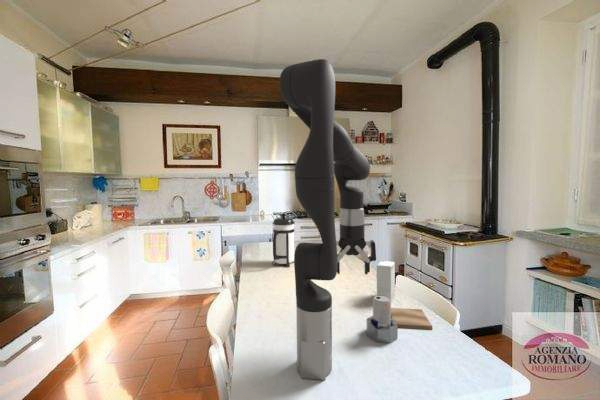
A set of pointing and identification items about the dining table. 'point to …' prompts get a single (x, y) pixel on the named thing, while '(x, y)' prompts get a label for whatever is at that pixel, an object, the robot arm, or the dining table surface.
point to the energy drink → (382, 311)
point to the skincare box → (386, 279)
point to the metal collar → (382, 331)
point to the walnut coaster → (410, 318)
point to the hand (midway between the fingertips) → (352, 273)
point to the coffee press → (283, 240)
